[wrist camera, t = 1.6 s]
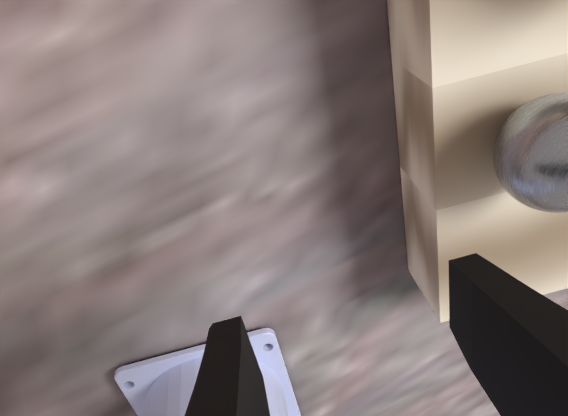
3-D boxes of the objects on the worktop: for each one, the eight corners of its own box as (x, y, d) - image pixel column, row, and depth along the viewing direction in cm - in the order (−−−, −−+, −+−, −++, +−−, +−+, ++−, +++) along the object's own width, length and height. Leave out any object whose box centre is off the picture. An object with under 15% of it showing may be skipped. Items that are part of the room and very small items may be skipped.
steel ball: (567, 163, 16) (648, 217, 13) (470, 189, 16) (531, 249, 13) (581, 65, 14) (680, 102, 11) (472, 93, 14) (543, 138, 11)
